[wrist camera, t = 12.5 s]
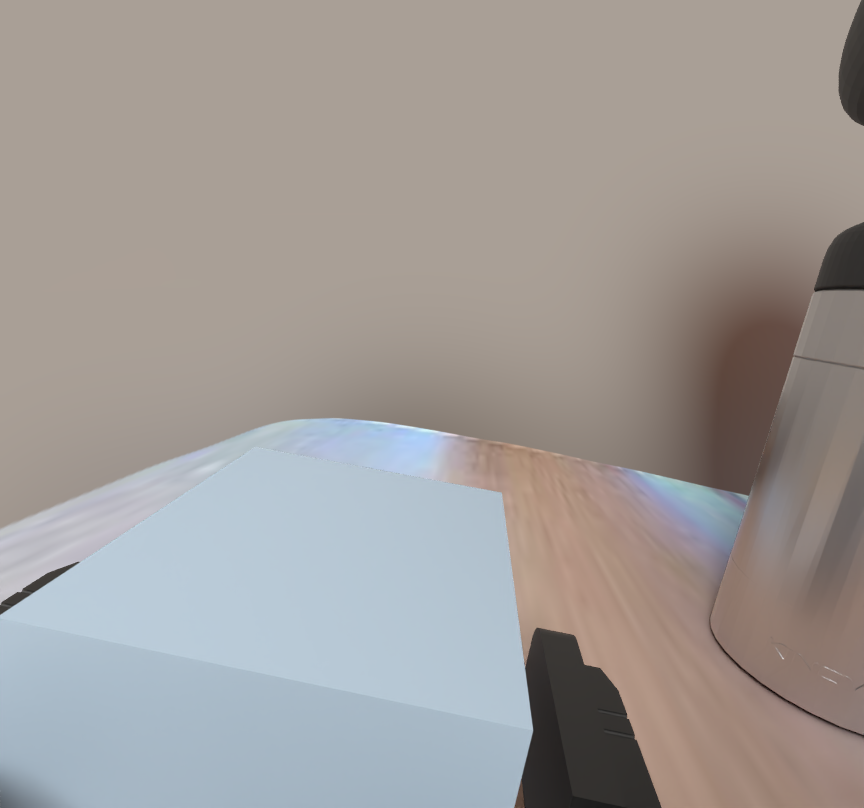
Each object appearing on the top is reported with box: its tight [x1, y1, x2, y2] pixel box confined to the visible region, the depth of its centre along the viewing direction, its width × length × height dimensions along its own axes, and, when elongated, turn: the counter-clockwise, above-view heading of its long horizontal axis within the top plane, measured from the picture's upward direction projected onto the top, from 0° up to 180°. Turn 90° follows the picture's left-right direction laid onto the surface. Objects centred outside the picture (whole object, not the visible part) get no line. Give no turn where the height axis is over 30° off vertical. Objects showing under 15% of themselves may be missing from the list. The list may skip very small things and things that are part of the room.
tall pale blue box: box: [0, 447, 533, 808], centre depth 10 cm, size 7×6×10 cm
